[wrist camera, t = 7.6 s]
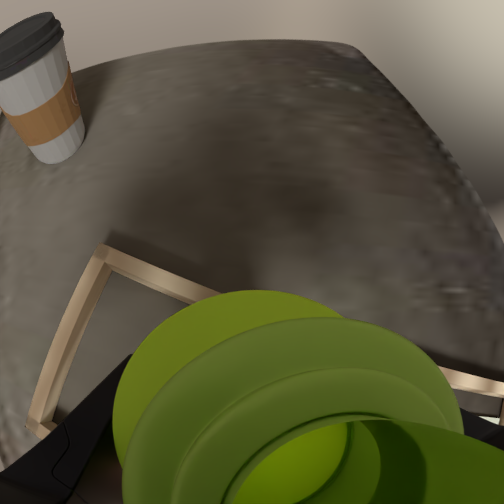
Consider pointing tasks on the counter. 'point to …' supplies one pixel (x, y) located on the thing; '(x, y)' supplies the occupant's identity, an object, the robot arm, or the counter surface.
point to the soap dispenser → (291, 412)
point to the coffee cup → (40, 88)
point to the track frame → (162, 282)
